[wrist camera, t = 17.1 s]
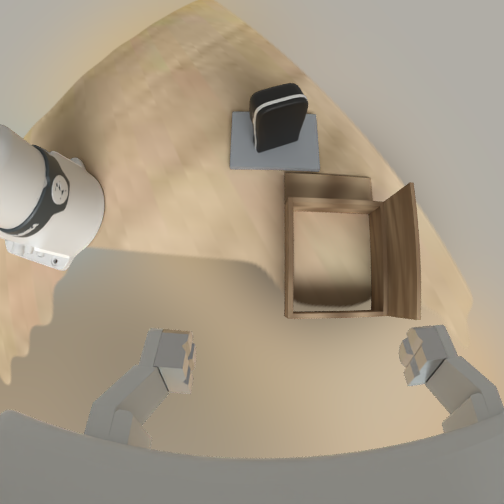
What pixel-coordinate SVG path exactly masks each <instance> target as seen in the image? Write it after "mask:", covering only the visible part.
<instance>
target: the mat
mask: <svg viewBox="0 0 504 504" xmlns="http://www.w3.org/2000/svg"><path fill="white" fill-rule="evenodd" d="M253 136H254V133H253V124H252V121H251V119H250V114H249V112H233V114H232V133H231V153H230V169H256V170H292V171H314V172H319V170H320V162H319V147H318V134H317V121H316V115H314V114H306V117H305V120H304V123H303V125H302V128H301V131H300V134H299V138H298V141H295V142H292V143H289V144H286V145H283V146H280V147H277V148H274V149H270V150H267V151H264V152H261V153H258V152H257V151H256V150H255V146H254V144H253Z"/></svg>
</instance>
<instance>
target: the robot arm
mask: <svg viewBox="0 0 504 504" xmlns="http://www.w3.org/2000/svg"><path fill="white" fill-rule="evenodd" d="M103 214H104V195H103V191H102V188H101V186H100V184H99V182H98V181H97V180H96V179H95V178H94V177H93V176H92V175H91V174H89V173H88V172H87V171H86V169H85V167H84V164H83V162H82V161H81V160H80V159H78V158H72V159H68V158H66V157H64V156H63V155H61V154H59V153H58V152H56V151H51V152H50V153H49V152H48V151H46V150H45V149H43V148H41V147H39V146H36V145H31V144H30V143H28V142H27V141H25V140H24V139H23V138H21V137H20V136H19V135H17V134H16V133H15V132H13V131H12V130H11V129H9V128H8V127H6V126H4V125H0V238H2V239H5V244H6V248H7V251H8V252H9V253H12V254H14V255H17V256H20V257H22V258H25V259H28V260H31V261H34V262H37V263H39V264H42V265H45V266H48V267H51V268H54V269H57V270H60V271H65V270H66V269H67V268H68V267H69V265H70V264H71V262H72V260H73V259H74V257H75V256H76V255H77V254H78V253H79V252H80V251H82V250H83V249H84V248H86V247H87V246H88V245H89V243H90V242H91V241H92V240H93V238H94V237H95V235H96V234H97V232H98V230H99V227H100V225H101V222H102V218H103ZM56 260H57V263H56ZM192 341H193V335H192V331H181V330H169V329H159V328H158V329H157V328H150V330H149V331H148V334H147V337H146V341H145V345H144V348H143V351H142V355H141V358H140V362H139V365H134V366H133V367H132V368H131V369H130V370H129V371H128V372H126V373H125V374H124V375H123V376H122V377H121V378H120V379H119V380H118V381H116V382H115V383H114V384H113V385H112V386H111V387H110V388H109V389H108V390H107V391H105V392H104V393H103V394H102V395H101V396H100V397H99V398H98V399H97V400H95V401H94V402H93V404H92V407H91V411H90V414H89V418H88V421H87V425H86V429H85V432H84V434H81V433H78V432H75V431H71V430H68V429H65V428H62V427H58V426H55V425H52V424H49V423H47V422H44V421H41V420H38V419H35V418H33V417H30V416H28V415H25V414H23V413H20V412H18V411H15V410H11V409H9V410H5V411H3V412H2V413H0V504H504V407H503V404H502V401H501V399H500V396H499V393H498V390H497V388H496V386H495V385H494V384H493V383H491V382H490V381H489V380H488V379H487V378H486V377H485V376H483V375H482V374H481V373H480V372H479V371H478V370H477V369H475V368H474V367H473V366H472V365H471V364H470V363H468V362H467V361H466V360H465V359H464V358H463V357H461V356H458V355H457V352H456V350H455V348H454V346H453V343H452V341H451V339H450V336H449V334H448V332H447V330H446V328H445V326H444V325H436V326H423V327H414V328H411V329H409V330H408V332H407V338H406V339H404V340H403V341H402V343H401V345H400V349H399V358H400V362H401V364H403V365H404V366H405V367H406V368H405V371H404V375H405V378H406V382H407V385H408V386H413V385H420V384H425V385H426V387H427V388H428V389H429V390H430V391H431V392H432V393H433V395H434V396H435V397H436V398H437V399H438V400H439V402H440V403H441V404H442V405H443V406H444V407H445V409H446V410H447V411H448V412H449V413H450V414H451V415H450V416H448V417H447V418H446V419H445V420H444V421H443V422H442V426H443V430H444V433H443V434H439V435H436V436H432V437H429V438H425V439H420V440H416V441H412V442H408V443H403V444H398V445H393V446H389V447H383V448H377V449H371V450H365V451H358V452H352V453H343V454H334V455H324V456H313V457H298V458H297V457H296V458H230V457H213V456H201V455H191V454H181V453H173V452H166V451H160V450H153V449H150V448H151V442H152V437H151V436H150V435H149V434H148V432H147V431H146V430H145V429H144V428H143V427H142V425H143V424H144V422H145V421H146V420H147V419H148V418H149V417H150V415H151V414H152V413H153V412H154V411H155V410H156V408H157V407H158V406H159V405H160V404H161V402H162V401H163V400H164V399H165V398H166V396H167V395H168V394H169V392H172V393H187V394H191V391H192V384H193V375H192V372H191V371H192V370H194V368H195V363H196V348H195V344H194V343H192Z"/></svg>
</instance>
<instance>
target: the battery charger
mask: <svg viewBox="0 0 504 504" xmlns="http://www.w3.org/2000/svg"><path fill="white" fill-rule="evenodd" d="M307 109H308V101H307V98H306V96H305V95H304V94H303V93H302V91H301V89H300V88H299V86H298V85H296V84H294V83H288V84H283V85H279V86H275V87H271V88H268V89H264V90H261V91H258V92H256V93H254V94H253V95H252V97H251V99H250V108H249V114H250V119H251V121H252V124H253V133H254V136H253V144H254V146H255V150H256V151H257V152H258V153H261V152H264V151H267V150H270V149H274V148H277V147H280V146H283V145H286V144H289V143H292V142H295V141H298V138H299V134H300V131H301V128H302V125H303V123H304V120H305V117H306V113H307Z"/></svg>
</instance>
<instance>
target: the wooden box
mask: <svg viewBox="0 0 504 504" xmlns="http://www.w3.org/2000/svg"><path fill="white" fill-rule="evenodd" d="M293 211H310V212H336V213H358V214H369V223H370V244H371V310H361V311H322V312H321V311H318V312H317V311H315V312H293V276H294V233H293ZM284 311H285V313H284V316H285V317H287V318H288V319H293V318H294V319H296V318H297V319H298V318H299V319H301V318H302V319H304V318H351V317H375V316H392V317H399V318H407V319H414V320H420V319H421V265H420V244H419V230H418V218H417V208H416V199H415V191H414V183H409V184H407V185H406V186H404V187H403V188H402V189H400V190H399V191H398V192H396V193H395V194H394V195H392V196H391V197H390V198H388V199H387V200H386V201H384V202H378V201H373V200H372V189H371V179H370V178H363V177H351V176H336V175H320V174H299V173H285V310H284Z"/></svg>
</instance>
